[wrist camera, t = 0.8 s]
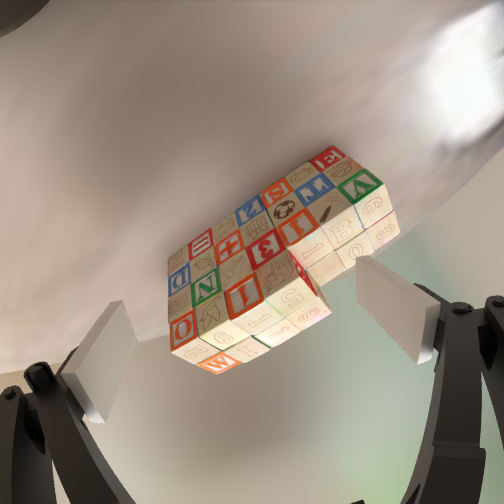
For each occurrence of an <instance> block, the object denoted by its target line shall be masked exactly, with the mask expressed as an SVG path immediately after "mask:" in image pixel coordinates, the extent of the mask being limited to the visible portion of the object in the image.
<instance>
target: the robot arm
mask: <svg viewBox="0 0 504 504" xmlns="http://www.w3.org/2000/svg"><path fill="white" fill-rule="evenodd" d="M48 1H49V0H0V37H1V36H3V35H5V34H7V33H9V32H11V31H13V30H14V29H16V28H17V27H19V26H20V25H22V24H23V23H25V22H26V21H27V20H28V19H30V18H31V17H32V16H33V15H35V14H36V13H37V12H38V11H39V10H40V9H41V8H42V7H43V6H44V5H45V4H46V3H47V2H48ZM356 280H357V302H358V303H359V304H360V305H361V306H362V307H363V308H364V309H365V310H366V311H367V312H368V313H369V314H370V315H371V316H372V317H373V318H374V319H375V320H376V322H377V323H379V324H380V326H381V327H382V328H383V329H384V330H385V331H386V332H387V333H388V334H389V335H390V336H391V337H392V338H393V339H394V340H395V341H396V342H397V343H398V344H399V346H401V348H402V349H403V350H404V351H405V352H406V353H407V354H408V355H409V356H410V357H411V358H412V359H413V361H414V362H415V363H416V364H417V365H418V364H421V363H423V362H425V361H427V360H430V359H431V357H432V352H433V347H434V348H435V349H436V350H437V351H438V357H437V361H436V365H435V369H434V372H435V379H434V386H433V392H432V399H431V404H430V409H429V414H428V418H427V423H426V428H425V432H424V436H423V440H422V444H421V447H420V451H419V454H418V458H417V461H416V465H415V468H414V471H413V474H412V477H411V480H410V483H409V486H408V489H407V491H406V493H405V495H404V497H403V499H402V501H401V503H400V504H478V502H479V498H480V493H481V487H482V481H483V475H484V467H485V459H486V451H485V449H484V448H480V432H481V411H482V382H481V371H482V374H483V377H484V380H485V383H486V386H487V389H488V392H489V395H490V398H491V401H492V405H493V408H494V412H495V415H496V418H497V423H498V427H499V430H500V435H501V439H502V444H503V449H504V297H502V296H499V295H497V296H491V297H488V298H487V300H486V303H485V308H481V309H475V310H474V308H473V307H472V306H471V305H469V304H467V303H463V302H454V303H451V304H450V303H449V302H447V301H446V300H444V299H443V298H441V297H440V296H438V295H437V294H435V293H434V292H432V291H430V290H429V289H428V288H426V287H425V286H422V285H419V284H416V283H414V284H412V283H411V282H409V281H408V280H406V279H404V278H403V277H401V276H400V275H398V274H397V273H395V272H393V271H392V270H391V269H389V268H387V267H386V266H384V265H383V264H381V263H380V262H378V261H376V260H375V259H373V258H372V257H370V256H368V255H365V256H360V257H356ZM137 342H138V341H137V339H136V336H135V334H134V331H133V328H132V326H131V323H130V320H129V317H128V314H127V312H126V309H125V306H124V303H123V300H121V301H115V302H111V303H110V304H109V305H108V307H107V308H106V309H105V311H104V312H103V313H102V315H101V316H100V317H99V319H98V320H97V321H96V323H95V324H94V326H93V327H92V328H91V330H90V331H89V332H88V334H87V335H86V337H85V338H84V339H83V341H82V342H81V344H80V345H79V346H78V347H76V348H75V349H74V350H73V351H71V352H70V354H69V355H68V357H67V359H66V360H65V361H64V363H63V364H62V366H61V367H60V368H59V370H58V371H57V373H56V375H54V374H53V372H52V370H51V368H50V366H49V365H48V363H47V362H38V363H35V364H33V365H31V366H30V367H28V368H27V369H26V371H25V372H24V378H25V379H26V381H27V383H28V385H29V386H30V388H31V389H32V391H33V393H28V394H24V393H23V392H22V390H21V388H20V387H19V386H16V385H15V386H11V387H7V388H6V389H4V391H3V392H2V393H1V395H0V504H57V501H56V494H55V487H54V479H53V469H52V460H53V463H54V465H55V468H56V471H57V474H58V476H59V478H60V481H61V483H62V485H63V488H64V490H65V492H66V494H67V497H68V499H69V501H70V503H71V504H136V503H135V502H134V500H133V499H132V498H131V496H130V495H129V494H128V492H127V491H126V489H125V488H124V487H123V485H122V484H121V482H120V481H119V479H118V478H117V477H116V475H115V474H114V472H113V470H112V469H111V467H110V466H109V464H108V463H107V461H106V459H105V458H104V456H103V455H102V453H101V452H100V450H99V448H98V447H97V444H96V443H95V441H94V439H93V437H92V435H91V434H90V432H89V430H88V428H87V426H86V424H85V423H84V422H83V420H82V418H83V415H84V413H85V414H86V416H87V417H88V419H89V420H90V422H93V423H94V422H95V423H106V420H107V418H108V414H109V412H110V409H111V407H112V404H113V401H114V399H115V396H116V394H117V391H118V388H119V386H120V383H121V381H122V378H123V376H124V374H125V371H126V369H127V366H128V364H129V361H130V359H131V356H132V354H133V351H134V349H135V347H136V345H137ZM351 504H365V503H364V501H363V500H360V501H357V502H354V503H351Z"/></svg>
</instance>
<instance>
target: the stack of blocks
mask: <svg viewBox="0 0 504 504" xmlns="http://www.w3.org/2000/svg"><path fill="white" fill-rule="evenodd" d="M399 233H400V230H399V226H398V223H397V219H396V216H395V213H394V210H393V209H392V205H391V202H390V199H389V196H388V193H387V190H386V187H385V184H384V183H383V182H382V181H381V180H379V179H378V178H377V177H376V176H374V175H373V174H372V173H371V172H369V171H368V170H367V169H365V168H363V167H362V166H360V165H359V164H358V163H357V162H355V161H354V160H353V159H352V158H350V157H349V156H346V155H345V154H344V153H343V152H342V151H340V150H339V149H338V148H336V147H335V146H332V147H330V148H329V149H327V150H326V151H324V152H323V153H321V154H320V155H318V156H317V157H315V158H314V159H312V160H311V161H310V162H306V163H305V164H303V165H302V166H300V167H298V168H297V169H295V170H294V171H292V172H291V173H289V174H288V175H287V176H285V177H284V178H282V179H280V180H279V181H277V182H276V183H274V184H273V185H271V186H270V187H268V188H267V189H265V190H264V191H262V192H261V193H260V194H259V195H258V196H256V197H255V198H253V199H252V200H250V201H249V202H247V203H246V204H245V205H243V206H242V207H240V208H239V209H237V210H236V211H235V212H234V213H232V214H230V215H229V216H228V217H226V218H225V219H223V220H222V221H221V222H219V223H218V224H216V225H215V226H214V227H212V228H210V229H208V230H207V231H206V232H204V233H203V234H201V235H200V236H199V237H197V238H196V239H195V240H193V241H192V242H190V243H189V244H188V245H186V246H185V247H183V248H182V249H180V250H179V251H178V252H176V253H175V254H174V255H172V256H171V257H170V258H169V259H168V277H169V279H168V298H169V299H168V323H169V325H170V346H171V352H172V353H173V354H175V355H177V356H179V357H181V358H183V359H185V360H187V361H189V362H190V363H192V364H197V365H198V366H199V367H202V368H204V369H206V370H208V371H210V372H213V373H215V374H220V373H222V372H224V371H226V370H228V369H230V368H232V367H234V366H236V365H238V364H240V363H242V362H243V363H245V362H248V361H250V360H252V359H253V358H256V357H258V356H260V355H261V354H263V353H265V352H267V351H269V350H270V349H271V347H275V346H277V345H279V344H280V343H282V342H284V341H286V340H288V339H289V338H291V337H292V336H294V335H296V334H298V333H299V332H300V331H301V330H304V329H306V328H308V327H309V326H311V325H313V324H314V323H316V322H318V321H319V320H321V319H322V318H324V317H326V316H327V315H329V314H331V312H332V311H331V309H330V308H329V306H328V303H327V301H326V299H325V297H324V295H323V293H322V291H321V289H320V286H322V285H324V284H325V283H327V282H328V281H330V280H331V279H333V278H334V277H336V276H337V275H339V274H341V273H342V272H343V271H345V270H347V269H349V268H350V267H352V266H353V265H355V264H356V257H360V256H365V255H368V256H369V255H370V254H372V253H373V252H374V250H376V249H378V248H379V247H381V246H382V245H384V244H385V243H387V242H388V241H390V240H391V239H392V238H394V237H395V236H397V235H398V234H399Z"/></svg>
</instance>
